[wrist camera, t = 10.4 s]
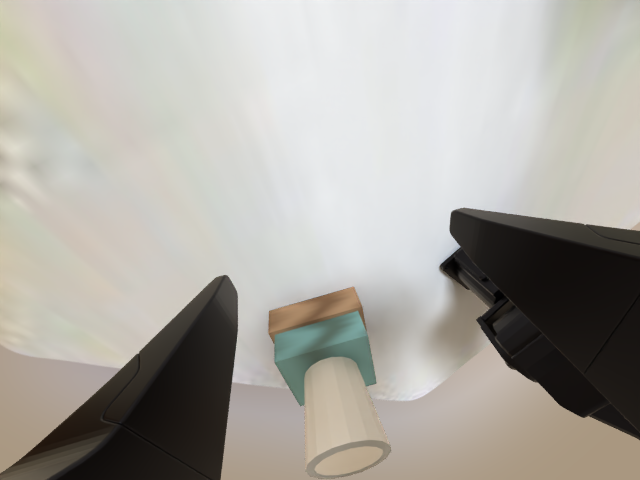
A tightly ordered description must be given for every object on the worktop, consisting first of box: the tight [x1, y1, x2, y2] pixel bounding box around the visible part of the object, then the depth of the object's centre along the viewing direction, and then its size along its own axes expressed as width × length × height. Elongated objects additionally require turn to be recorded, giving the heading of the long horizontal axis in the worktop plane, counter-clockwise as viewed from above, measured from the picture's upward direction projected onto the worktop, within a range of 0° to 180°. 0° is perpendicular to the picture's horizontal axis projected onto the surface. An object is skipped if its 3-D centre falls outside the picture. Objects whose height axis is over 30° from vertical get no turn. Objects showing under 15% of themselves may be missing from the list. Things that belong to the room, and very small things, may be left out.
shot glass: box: [304, 357, 391, 479], centre depth 21 cm, size 7×7×7 cm
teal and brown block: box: [268, 287, 376, 406], centre depth 26 cm, size 10×10×6 cm
